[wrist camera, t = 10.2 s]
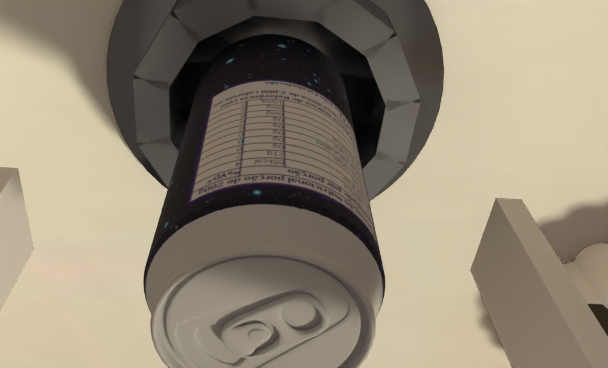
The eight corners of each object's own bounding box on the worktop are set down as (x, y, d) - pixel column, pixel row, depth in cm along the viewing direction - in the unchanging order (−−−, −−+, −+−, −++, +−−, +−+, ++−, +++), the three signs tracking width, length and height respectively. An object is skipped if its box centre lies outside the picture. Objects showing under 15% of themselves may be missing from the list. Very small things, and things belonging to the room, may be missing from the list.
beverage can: (169, 70, 22) (74, 304, 12) (300, -4, 20) (317, 190, 10) (249, 178, 25) (226, 439, 15) (368, 120, 23) (433, 365, 13)
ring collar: (121, 211, 26) (107, 249, 24) (93, -109, 19) (68, -96, 16) (404, 229, 27) (415, 267, 25) (481, -66, 20) (505, -49, 18)
